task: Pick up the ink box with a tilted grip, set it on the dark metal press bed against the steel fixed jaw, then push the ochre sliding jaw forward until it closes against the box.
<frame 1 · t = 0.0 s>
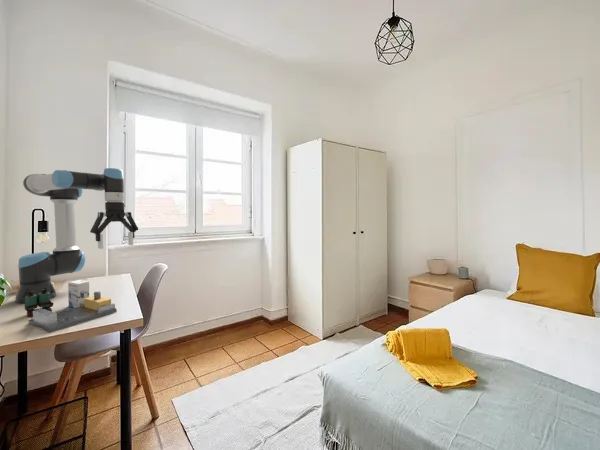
hand: (116, 246, 130), 28 cm above the table, tool pointing down, fingers open, 13 cm apart
binoculars: (40, 314, 120), on the table
press jaw: (97, 299, 123), point 5 cm above the table, slide at 0.0 cm
press bed: (67, 319, 114), on the table
ink box: (79, 306, 130), on the table
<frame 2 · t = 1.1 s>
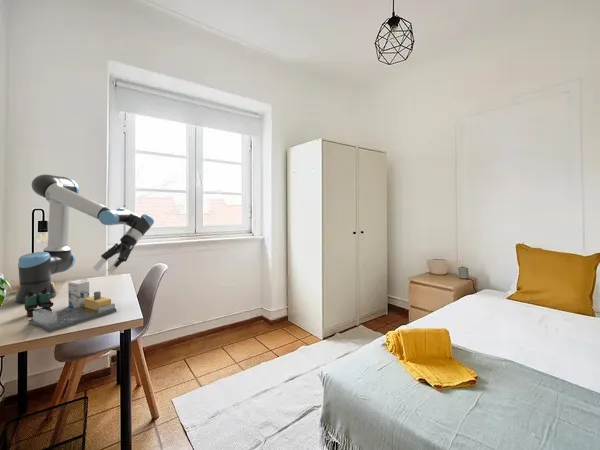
hand: (102, 270, 138), 15 cm above the table, tool tilted 45°, fingers open, 13 cm apart
nothing on the table moved.
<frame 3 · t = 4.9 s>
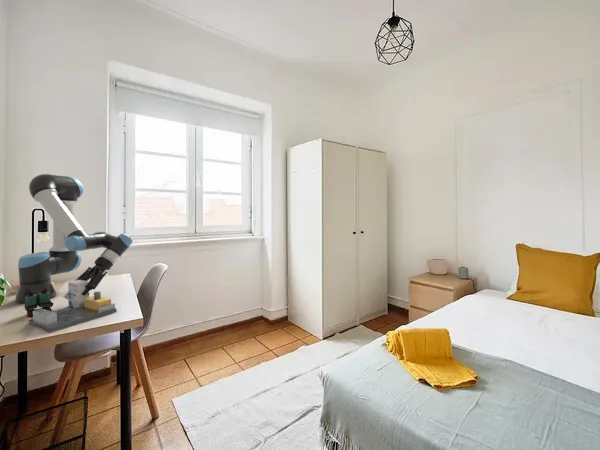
hand: (70, 299, 127), 4 cm above the table, tool tilted 45°, fingers closed on ink box, 9 cm apart
ink box: (79, 306, 130), on the table, touching gripper
everything else where it was.
when the fingers open (7 cm above the table, at t = 10.3 s): ink box drops 1 cm, resting on press bed.
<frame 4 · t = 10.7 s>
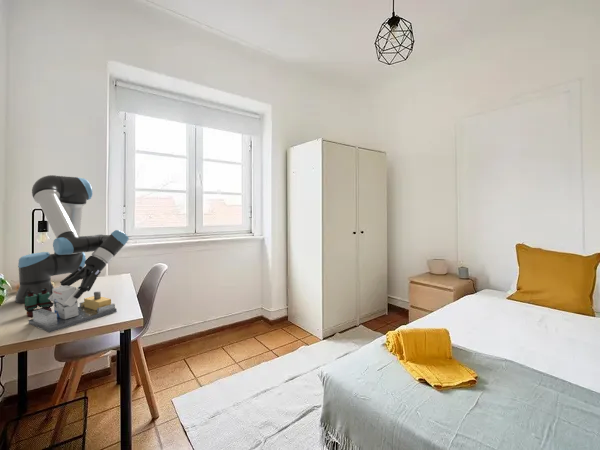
hand: (59, 302, 111), 8 cm above the table, tool tilted 45°, fingers open, 13 cm apart
ink box: (67, 316, 114), point 1 cm above the table, touching press bed
everything else where it was.
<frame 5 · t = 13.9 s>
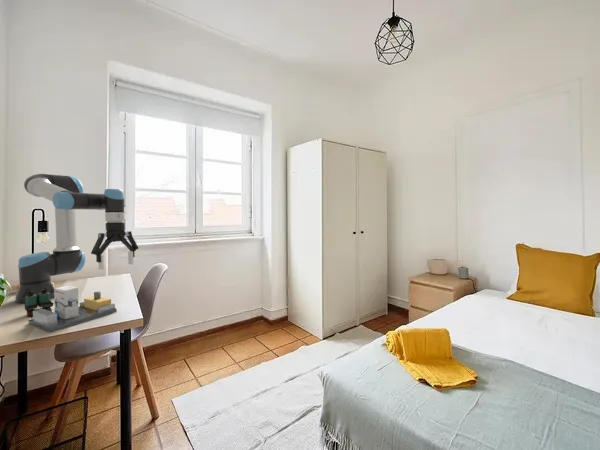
hand: (116, 266, 131), 18 cm above the table, tool pointing down, fingers open, 13 cm apart
nothing on the table moved.
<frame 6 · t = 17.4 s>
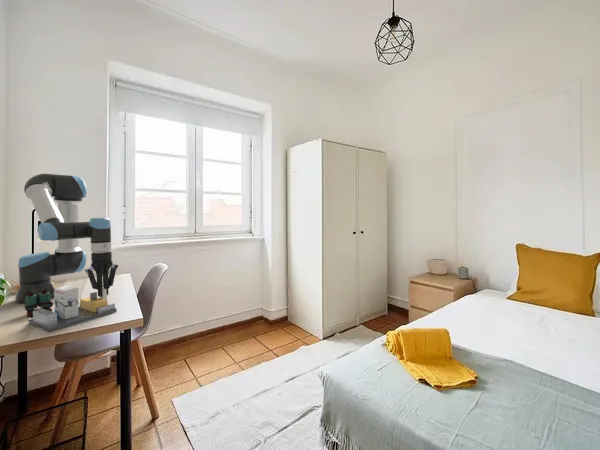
hand: (103, 302, 126), 3 cm above the table, tool pointing down, fingers closed
press jaw: (93, 300, 122), point 5 cm above the table, slide at 1.5 cm, touching gripper
everything else where it was.
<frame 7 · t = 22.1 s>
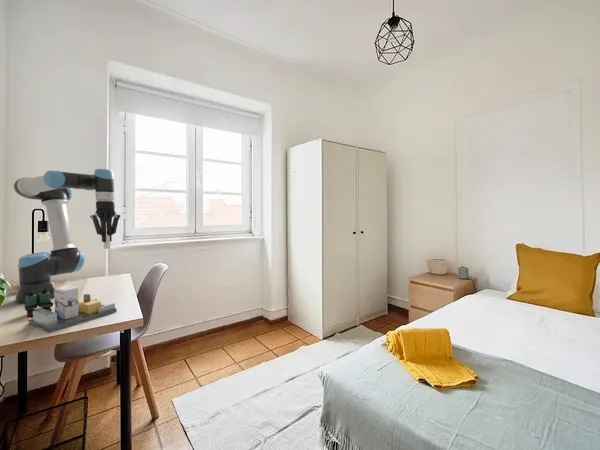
hand: (107, 248, 137), 26 cm above the table, tool pointing down, fingers closed
press jaw: (87, 302, 120), point 5 cm above the table, slide at 4.0 cm
everything else where it was.
at the end: ink box 0.2 cm off-centre on the press bed, point 1.3 cm above the press bed's base; ink box tilted 0°; press jaw slide at 4.0 cm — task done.
